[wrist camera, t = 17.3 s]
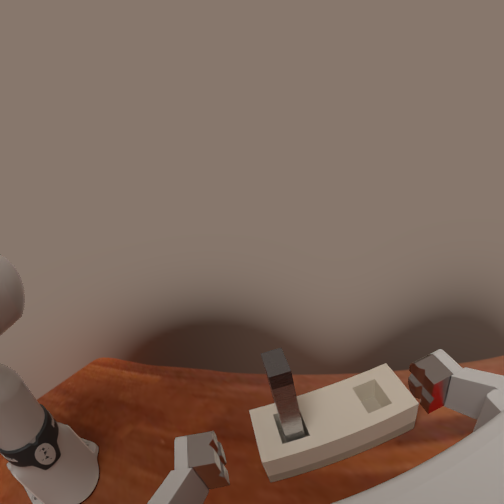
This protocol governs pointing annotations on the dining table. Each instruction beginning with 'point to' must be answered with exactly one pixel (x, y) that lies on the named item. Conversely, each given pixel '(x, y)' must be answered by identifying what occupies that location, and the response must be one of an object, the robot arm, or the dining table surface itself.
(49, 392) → the dining table surface
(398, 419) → the joystick lever base
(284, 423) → the tall square peg
